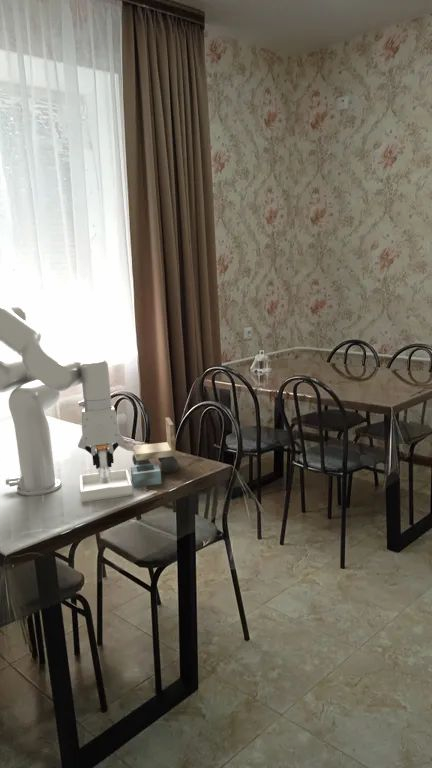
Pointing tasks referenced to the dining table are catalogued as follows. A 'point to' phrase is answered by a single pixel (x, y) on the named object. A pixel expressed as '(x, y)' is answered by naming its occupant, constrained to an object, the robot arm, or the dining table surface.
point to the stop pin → (103, 464)
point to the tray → (105, 486)
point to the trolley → (165, 452)
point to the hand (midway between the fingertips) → (103, 465)
